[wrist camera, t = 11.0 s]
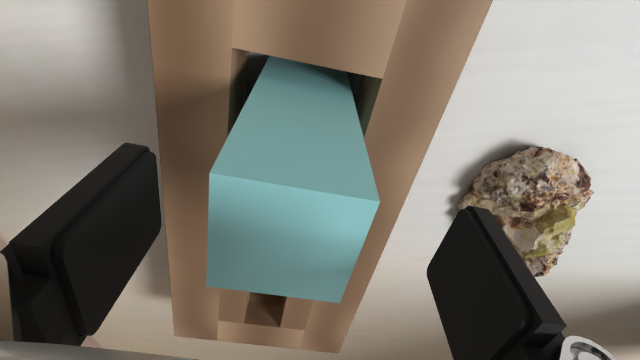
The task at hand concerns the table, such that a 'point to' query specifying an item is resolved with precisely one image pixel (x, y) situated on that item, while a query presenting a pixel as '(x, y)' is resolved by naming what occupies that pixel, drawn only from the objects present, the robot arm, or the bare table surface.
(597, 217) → the table surface
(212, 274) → the square peg
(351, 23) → the bore board
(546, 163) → the mineral rock
